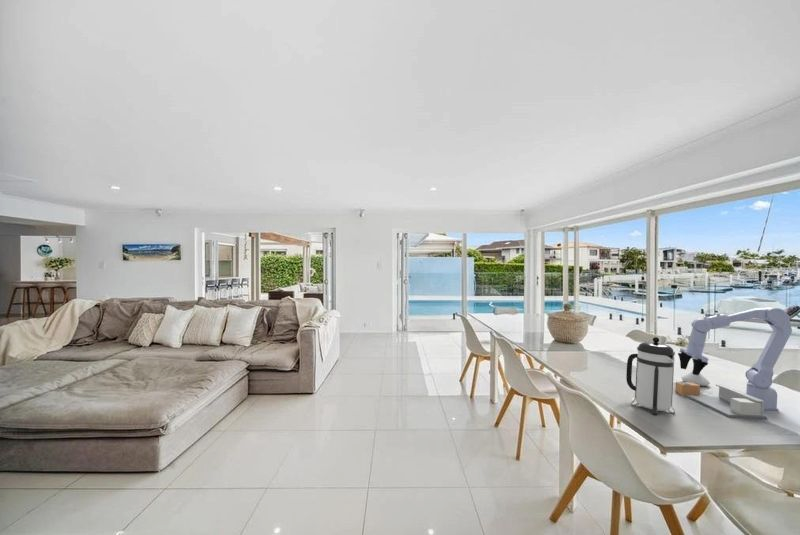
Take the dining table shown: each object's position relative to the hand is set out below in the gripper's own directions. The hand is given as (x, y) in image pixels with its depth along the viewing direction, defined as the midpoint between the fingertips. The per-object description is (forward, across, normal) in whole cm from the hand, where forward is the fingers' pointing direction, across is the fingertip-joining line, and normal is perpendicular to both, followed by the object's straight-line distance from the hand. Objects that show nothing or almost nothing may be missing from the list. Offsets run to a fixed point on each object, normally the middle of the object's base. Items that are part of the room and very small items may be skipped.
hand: (689, 371), depth 169 cm
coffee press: (+14, +22, -30) cm, 39 cm away
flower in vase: (+10, -18, +19) cm, 28 cm away
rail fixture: (+9, +16, +5) cm, 19 cm away
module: (+11, 0, +2) cm, 11 cm away
